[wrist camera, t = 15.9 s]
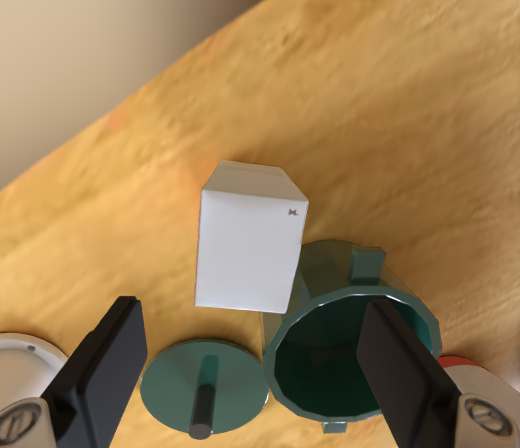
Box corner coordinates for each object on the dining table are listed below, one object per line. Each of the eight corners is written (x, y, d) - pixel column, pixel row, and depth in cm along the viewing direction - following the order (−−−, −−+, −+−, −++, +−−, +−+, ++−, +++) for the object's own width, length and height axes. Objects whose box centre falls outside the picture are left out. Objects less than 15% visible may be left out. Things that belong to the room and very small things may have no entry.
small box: (220, 158, 27) (199, 185, 14) (282, 166, 27) (312, 198, 15) (214, 233, 29) (192, 308, 17) (270, 238, 30) (288, 315, 18)
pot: (255, 365, 36) (259, 443, 27) (263, 215, 29) (272, 254, 20) (370, 364, 37) (410, 438, 29) (406, 218, 30) (474, 257, 21)
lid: (149, 427, 39) (133, 480, 34) (136, 335, 34) (113, 378, 28) (265, 424, 41) (268, 474, 35) (272, 334, 35) (277, 376, 29)
